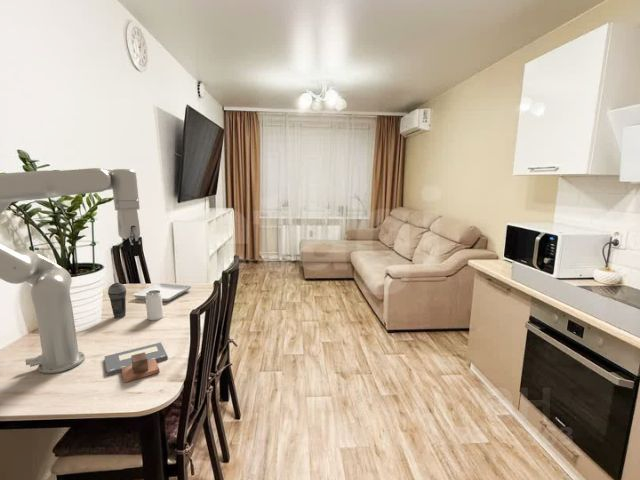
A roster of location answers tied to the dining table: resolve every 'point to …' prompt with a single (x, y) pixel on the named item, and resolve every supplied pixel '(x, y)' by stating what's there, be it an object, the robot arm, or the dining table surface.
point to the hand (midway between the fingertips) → (132, 253)
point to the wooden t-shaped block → (139, 368)
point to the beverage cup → (117, 299)
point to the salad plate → (164, 291)
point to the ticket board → (124, 359)
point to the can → (154, 305)
